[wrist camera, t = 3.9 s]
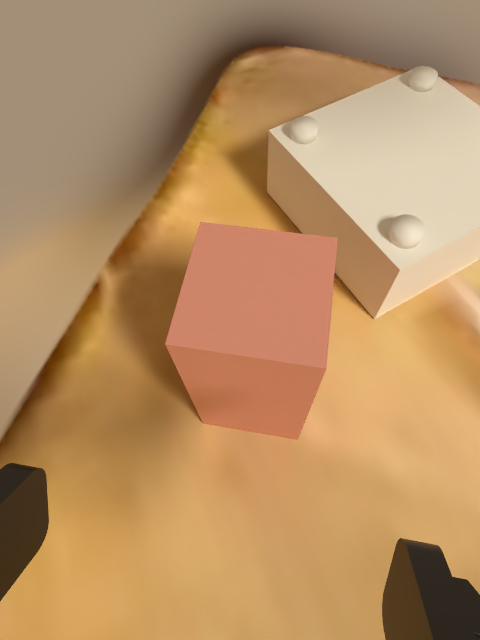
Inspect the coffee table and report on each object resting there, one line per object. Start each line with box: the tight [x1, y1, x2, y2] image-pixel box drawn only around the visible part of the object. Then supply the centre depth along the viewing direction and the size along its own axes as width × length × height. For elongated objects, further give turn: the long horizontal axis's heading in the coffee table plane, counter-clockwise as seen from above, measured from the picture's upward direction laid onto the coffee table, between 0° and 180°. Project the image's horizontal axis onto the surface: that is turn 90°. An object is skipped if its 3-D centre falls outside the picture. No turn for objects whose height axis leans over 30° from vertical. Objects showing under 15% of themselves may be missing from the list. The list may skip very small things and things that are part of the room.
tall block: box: [165, 222, 338, 440], centre depth 18 cm, size 5×5×10 cm
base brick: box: [267, 65, 480, 319], centre depth 25 cm, size 12×12×6 cm
